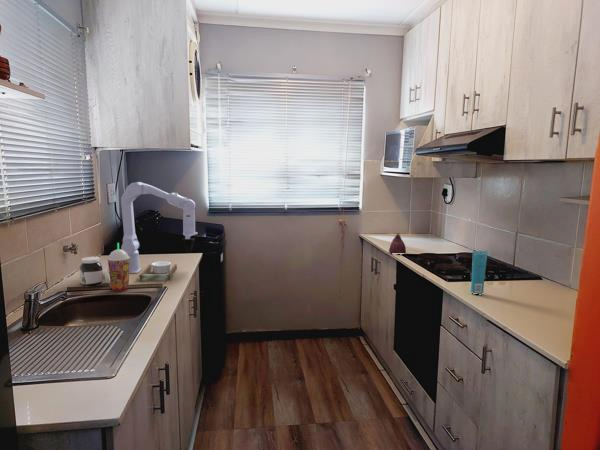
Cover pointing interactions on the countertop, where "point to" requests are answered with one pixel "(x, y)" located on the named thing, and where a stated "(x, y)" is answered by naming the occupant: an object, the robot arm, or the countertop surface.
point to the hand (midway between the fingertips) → (189, 250)
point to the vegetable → (397, 245)
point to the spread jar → (92, 272)
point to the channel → (146, 277)
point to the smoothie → (119, 269)
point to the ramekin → (161, 267)
